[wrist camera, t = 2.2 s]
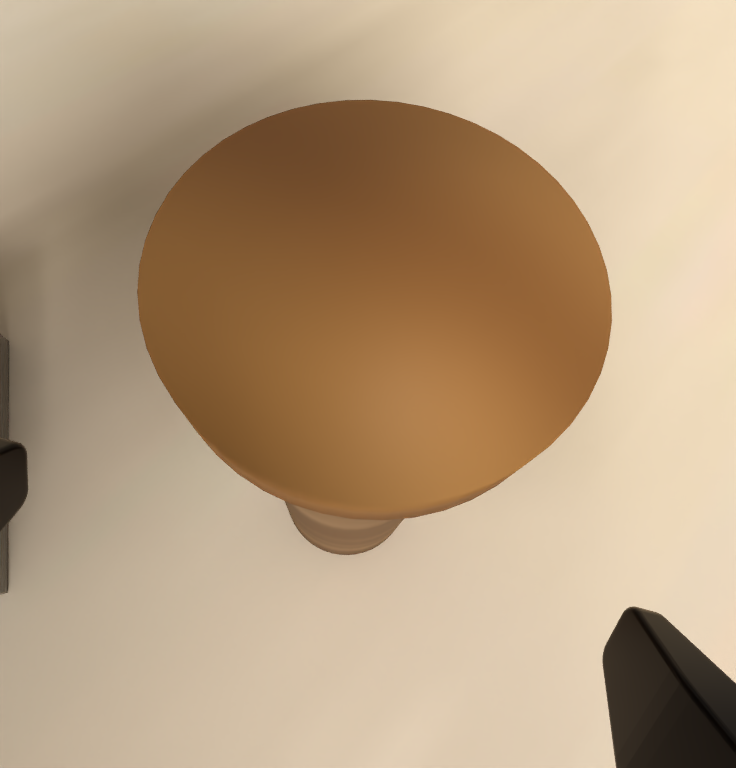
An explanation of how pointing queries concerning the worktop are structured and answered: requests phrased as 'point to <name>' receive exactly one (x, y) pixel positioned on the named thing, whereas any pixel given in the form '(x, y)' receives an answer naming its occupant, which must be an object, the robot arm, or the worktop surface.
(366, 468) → the pin
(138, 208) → the worktop surface
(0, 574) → the block
